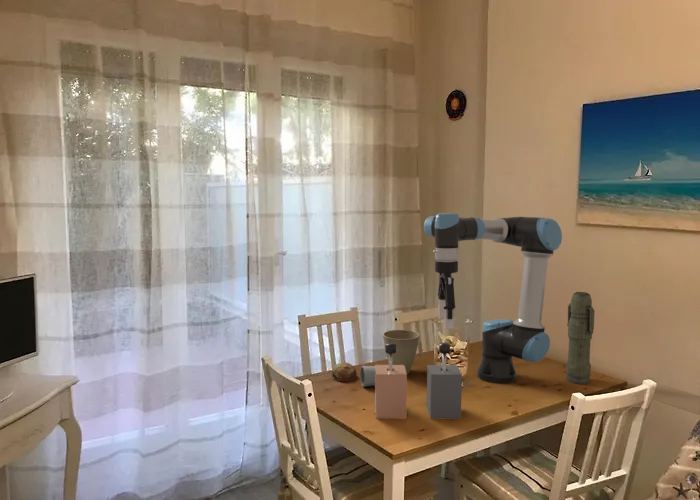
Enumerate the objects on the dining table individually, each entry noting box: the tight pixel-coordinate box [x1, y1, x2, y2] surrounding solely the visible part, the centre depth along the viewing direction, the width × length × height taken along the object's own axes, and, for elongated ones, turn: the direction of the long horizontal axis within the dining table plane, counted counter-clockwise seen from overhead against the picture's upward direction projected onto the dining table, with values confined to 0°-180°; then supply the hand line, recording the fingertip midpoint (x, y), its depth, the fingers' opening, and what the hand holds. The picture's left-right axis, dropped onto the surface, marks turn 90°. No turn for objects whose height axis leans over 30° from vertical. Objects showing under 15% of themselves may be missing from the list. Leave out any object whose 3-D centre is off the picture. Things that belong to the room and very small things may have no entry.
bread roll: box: [331, 362, 357, 382], centre depth 231 cm, size 10×10×8 cm
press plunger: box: [384, 342, 396, 371], centre depth 195 cm, size 8×8×22 cm
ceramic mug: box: [359, 365, 375, 388], centre depth 224 cm, size 11×8×8 cm
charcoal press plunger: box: [438, 342, 451, 371], centre depth 194 cm, size 8×8×22 cm
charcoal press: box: [426, 364, 463, 420], centre depth 196 cm, size 10×12×15 cm
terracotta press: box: [374, 364, 408, 419], centre depth 196 cm, size 10×12×15 cm
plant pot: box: [382, 329, 420, 375], centre depth 238 cm, size 15×15×16 cm
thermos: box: [565, 291, 595, 385], centre depth 226 cm, size 9×12×35 cm
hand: (445, 323), depth 193 cm, fingers open, 13 cm apart
